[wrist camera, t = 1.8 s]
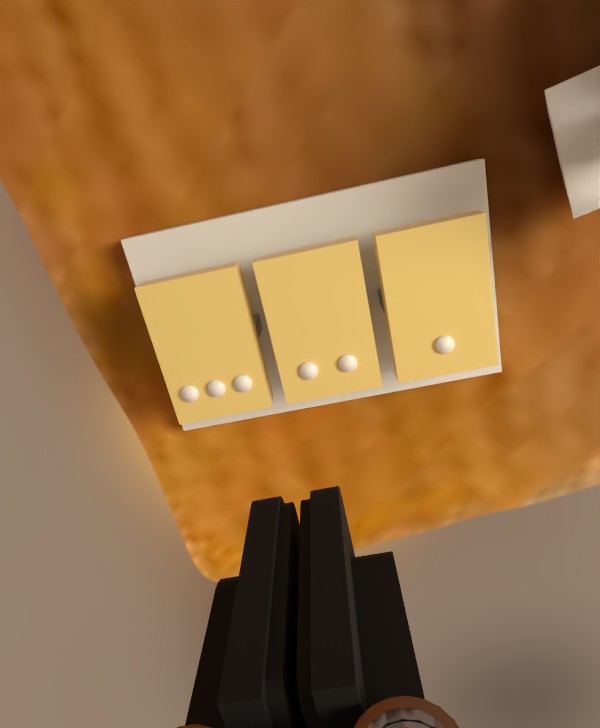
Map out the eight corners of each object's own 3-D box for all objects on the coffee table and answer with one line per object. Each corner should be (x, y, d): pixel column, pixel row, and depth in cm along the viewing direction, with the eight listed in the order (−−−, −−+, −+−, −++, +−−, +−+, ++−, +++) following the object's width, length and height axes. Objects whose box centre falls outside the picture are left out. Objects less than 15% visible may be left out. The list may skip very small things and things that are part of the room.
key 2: (255, 257, 31) (251, 263, 29) (354, 236, 30) (357, 240, 28) (288, 392, 34) (286, 406, 32) (378, 375, 33) (383, 387, 31)
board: (128, 236, 34) (107, 245, 31) (476, 159, 32) (497, 158, 29) (188, 420, 39) (176, 446, 36) (493, 363, 37) (513, 384, 33)
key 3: (143, 281, 31) (132, 288, 29) (238, 260, 31) (234, 267, 29) (185, 412, 34) (178, 426, 32) (273, 395, 34) (271, 409, 32)
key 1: (371, 232, 30) (376, 236, 28) (475, 209, 29) (487, 212, 27) (394, 372, 33) (399, 385, 31) (488, 354, 32) (499, 366, 31)
